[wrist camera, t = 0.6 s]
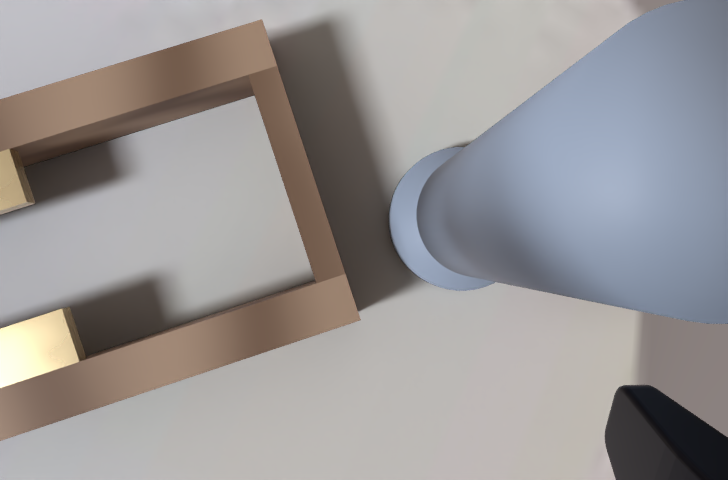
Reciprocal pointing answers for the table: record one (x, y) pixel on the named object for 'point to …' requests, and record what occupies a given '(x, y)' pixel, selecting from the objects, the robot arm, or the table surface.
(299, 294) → the keyhole block
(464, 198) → the slate peg
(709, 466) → the robot arm
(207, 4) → the table surface
